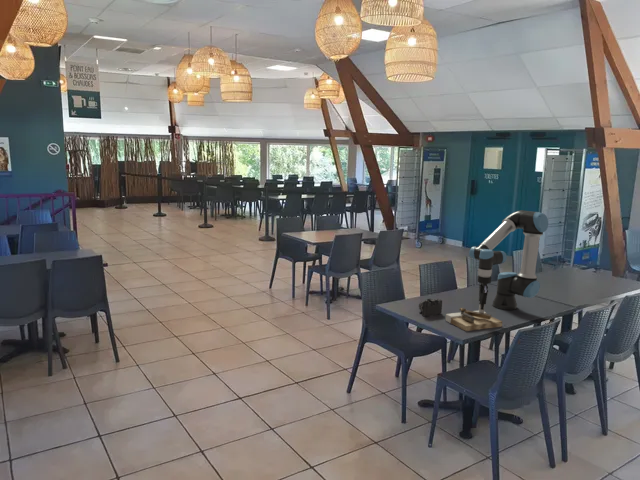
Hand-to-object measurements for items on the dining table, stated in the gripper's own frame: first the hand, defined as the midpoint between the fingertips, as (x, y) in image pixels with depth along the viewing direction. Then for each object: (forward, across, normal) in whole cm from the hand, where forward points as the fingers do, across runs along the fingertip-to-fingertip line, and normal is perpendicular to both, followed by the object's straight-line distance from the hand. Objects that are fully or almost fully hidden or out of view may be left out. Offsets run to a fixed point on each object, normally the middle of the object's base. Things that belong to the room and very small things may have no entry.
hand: (481, 314), depth 301 cm
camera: (+6, -12, -29) cm, 32 cm away
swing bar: (+1, +1, -4) cm, 4 cm away
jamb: (+5, -4, -8) cm, 10 cm away
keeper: (+2, +8, -9) cm, 12 cm away
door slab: (+5, +5, -3) cm, 8 cm away
